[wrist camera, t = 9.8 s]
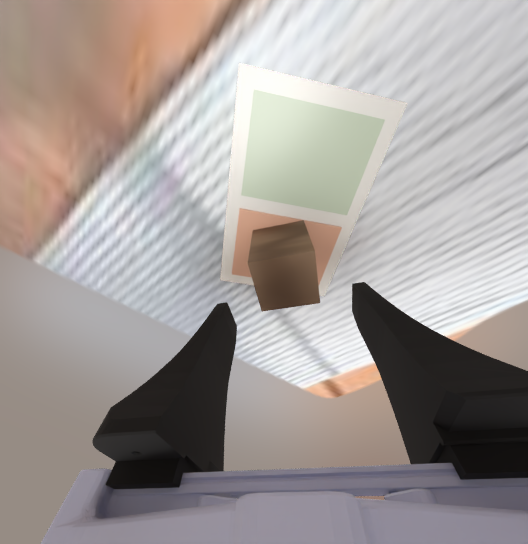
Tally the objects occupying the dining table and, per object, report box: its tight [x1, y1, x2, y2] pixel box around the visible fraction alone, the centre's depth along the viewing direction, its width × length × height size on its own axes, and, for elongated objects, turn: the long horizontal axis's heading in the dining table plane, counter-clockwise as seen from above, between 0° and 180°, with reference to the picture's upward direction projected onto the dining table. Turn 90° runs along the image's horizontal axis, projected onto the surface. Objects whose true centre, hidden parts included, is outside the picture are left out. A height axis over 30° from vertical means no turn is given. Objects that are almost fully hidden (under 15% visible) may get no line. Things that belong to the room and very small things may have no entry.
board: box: [220, 63, 408, 296], centre depth 17 cm, size 10×15×1 cm, turn 170°
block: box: [248, 220, 320, 311], centre depth 16 cm, size 4×4×5 cm
